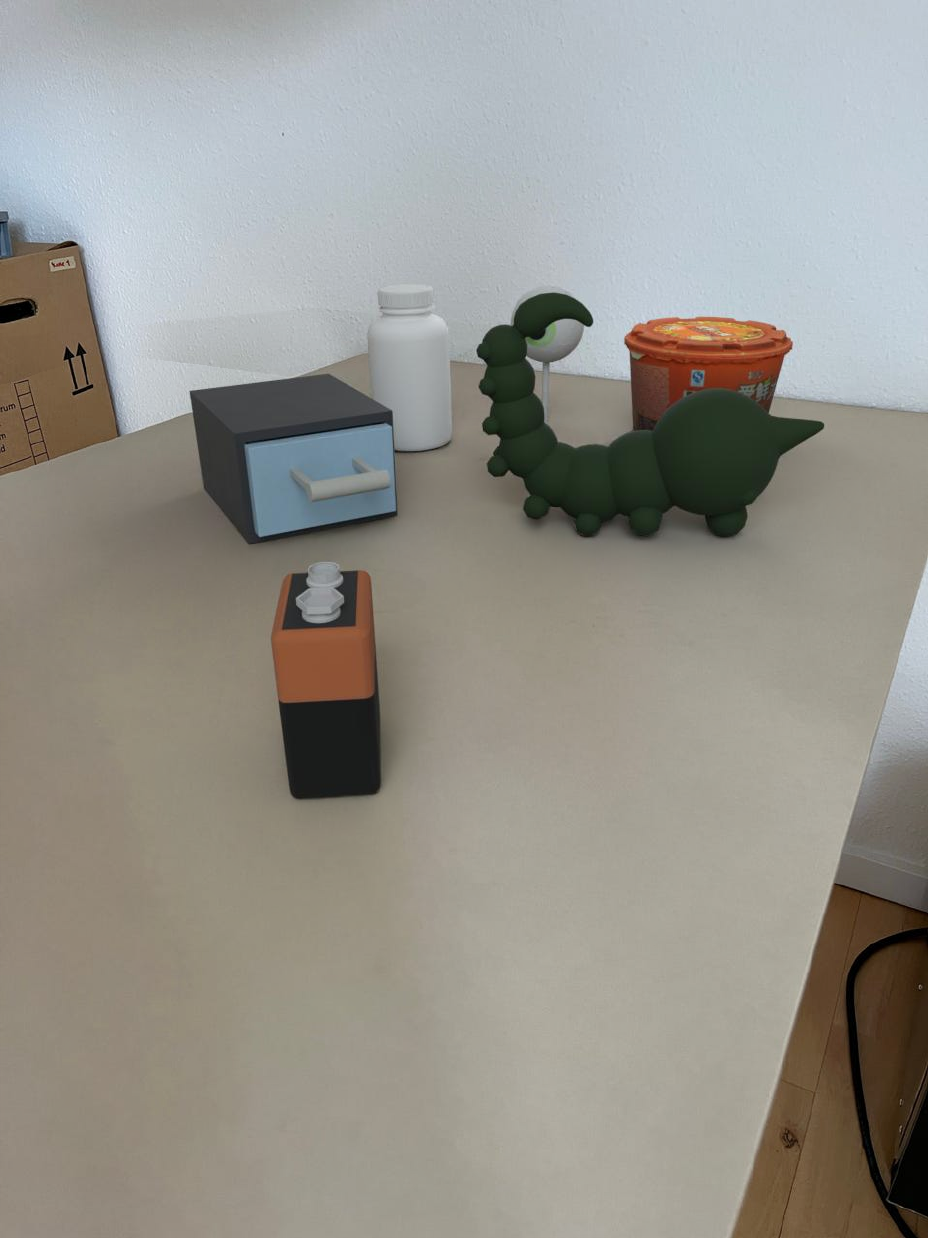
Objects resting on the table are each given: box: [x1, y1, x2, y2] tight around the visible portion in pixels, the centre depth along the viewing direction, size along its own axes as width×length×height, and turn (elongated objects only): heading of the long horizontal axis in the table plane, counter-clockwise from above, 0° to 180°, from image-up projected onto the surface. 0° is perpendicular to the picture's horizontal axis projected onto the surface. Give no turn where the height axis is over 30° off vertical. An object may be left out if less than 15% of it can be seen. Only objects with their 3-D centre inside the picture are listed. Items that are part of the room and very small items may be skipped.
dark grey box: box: [188, 373, 398, 545], centre depth 79 cm, size 15×13×9 cm
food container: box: [623, 316, 794, 431], centre depth 94 cm, size 16×16×11 cm
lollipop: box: [510, 284, 585, 426], centre depth 93 cm, size 7×7×15 cm
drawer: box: [244, 423, 396, 537], centre depth 75 cm, size 19×11×7 cm, turn 27°
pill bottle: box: [366, 283, 453, 452], centre depth 93 cm, size 8×8×15 cm
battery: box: [270, 561, 382, 800], centre depth 45 cm, size 4×7×10 cm, turn 5°
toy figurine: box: [475, 292, 825, 538], centre depth 71 cm, size 9×19×25 cm
